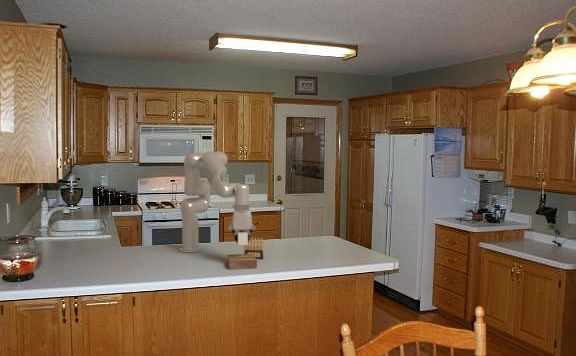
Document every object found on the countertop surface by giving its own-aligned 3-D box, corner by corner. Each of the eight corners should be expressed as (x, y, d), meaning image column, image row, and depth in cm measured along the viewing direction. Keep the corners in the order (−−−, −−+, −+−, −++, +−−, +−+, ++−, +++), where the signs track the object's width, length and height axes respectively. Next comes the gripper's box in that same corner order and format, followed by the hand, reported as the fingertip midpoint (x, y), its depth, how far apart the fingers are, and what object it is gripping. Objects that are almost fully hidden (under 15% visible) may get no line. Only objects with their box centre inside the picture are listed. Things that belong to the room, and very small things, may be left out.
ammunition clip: (244, 258, 284) (244, 237, 283) (244, 258, 286) (244, 237, 285) (263, 259, 283) (263, 238, 282) (263, 258, 285) (263, 237, 284)
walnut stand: (227, 262, 276) (227, 254, 275) (253, 261, 278) (253, 254, 278) (229, 269, 260) (229, 261, 260) (256, 268, 262) (256, 260, 262)
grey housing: (238, 245, 263) (238, 232, 263) (236, 241, 272) (236, 229, 271) (247, 244, 264) (247, 231, 264) (245, 241, 273) (245, 228, 272)
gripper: (226, 209, 261) (226, 243, 263) (259, 208, 265) (259, 242, 266) (225, 207, 269) (225, 241, 270) (257, 206, 272) (257, 240, 273)
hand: (242, 241), depth 268 cm, fingers closed on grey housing, 5 cm apart
